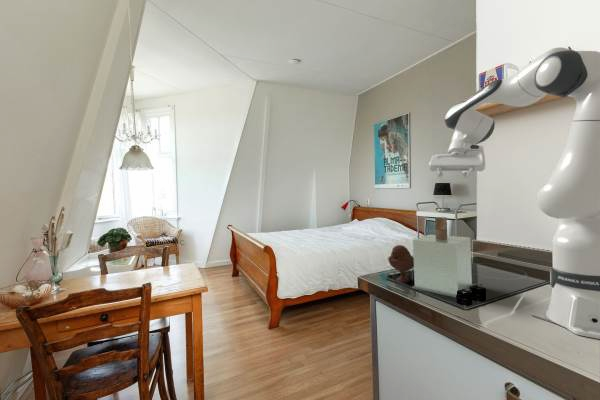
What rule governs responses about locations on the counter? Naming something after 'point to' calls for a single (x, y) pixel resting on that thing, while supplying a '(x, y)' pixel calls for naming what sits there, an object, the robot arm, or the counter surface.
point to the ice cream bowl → (401, 261)
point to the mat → (433, 291)
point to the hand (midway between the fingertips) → (452, 177)
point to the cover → (442, 261)
